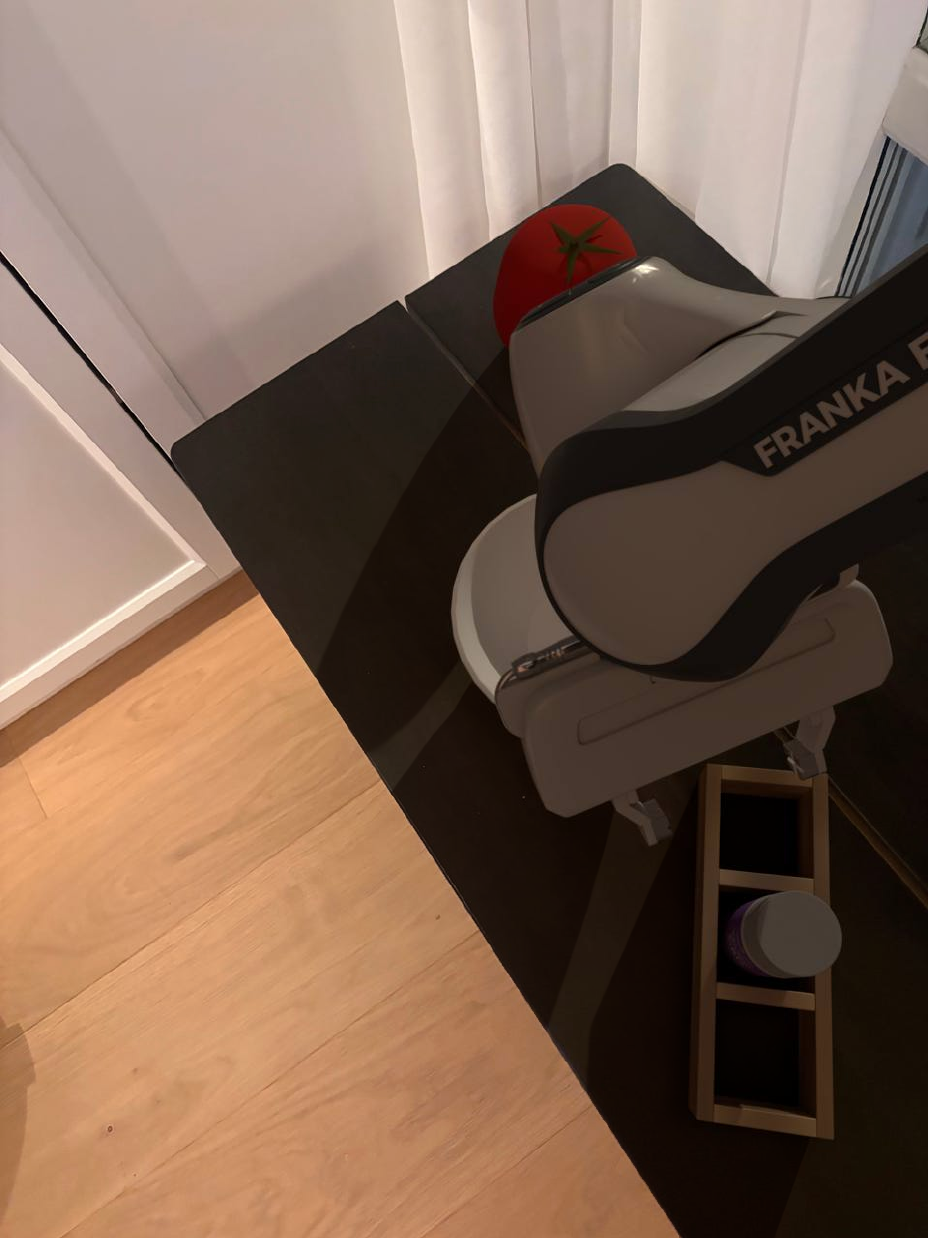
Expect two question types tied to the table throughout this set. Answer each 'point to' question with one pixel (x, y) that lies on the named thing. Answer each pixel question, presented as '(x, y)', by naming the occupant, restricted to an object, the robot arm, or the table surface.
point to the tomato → (554, 259)
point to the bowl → (502, 599)
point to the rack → (809, 1000)
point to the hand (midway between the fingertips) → (732, 803)
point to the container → (781, 936)
